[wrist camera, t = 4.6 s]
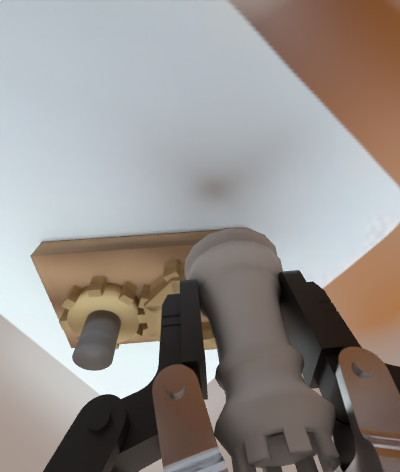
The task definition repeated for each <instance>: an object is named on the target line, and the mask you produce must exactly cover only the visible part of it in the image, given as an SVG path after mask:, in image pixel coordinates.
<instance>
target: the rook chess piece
mask: <svg viewBox="0 0 400 472" xmlns="http://www.w3.org/2000/svg"><path fill="white" fill-rule="evenodd" d="M280 272H283V270H282V265H281V261H280V259H279V257H278V256H277V252H276V248H275V246H274V245H273V244H272V243H271V242H270V240H269V239H268V238H267V237H266V236H265V235H263V234H261V233H258V232H256V231H253V230H251V229H248V228H226V229H223V230H220V231H217V232H214V233H211V234H208V235H207V236H206V237H204V238H203V239H202V240H200V241H199V242H198V243H197V244H195V245H194V246H193V247H192V249H191V251H190V253H189V255H188V256H187V258H186V260H185V274H184V276H185V278H186V280H191V279H197V284H198V293H199V303H200V310H201V312H202V314H203V316H204V317H205V318H207V319H208V320H209V323H210V326H211V329H212V333H213V336H214V339H215V342H216V346H217V350H218V357H219V365H218V367H217V369H216V375H215V379H216V380H217V382H218V384H219V386H220V387H221V388H222V389H223V390H224V391H225V394H226V403H225V406H224V408H223V410H222V412H221V414H220V416H219V419H218V420H217V422H216V426H215V431H214V435H215V437H216V438H217V440H218V441H219V442H220V443H221V445H222V446H223V447H224V448H225V449H226V451H227V452H228V453H229V454H230V456H231V458H232V464H233V472H256V467H257V468H262V469H263V472H282V468H281V466H285V465H289V464H294V463H295V465H296V469H297V472H318V469H317V467H316V464H315V461H314V458H313V456H315V455H318V458H319V461H320V464H321V466H322V469H323V472H334V471H335V470H336V469H337V467H338V466H339V465H340V461H339V459H338V457H339V454H338V452H337V449H336V447H335V445H334V442H333V440H332V434H333V429H334V424H335V418H336V413H335V405H333V404H332V403H330V402H329V401H328V400H326V399H325V398H324V397H322V396H321V395H319V394H318V393H317V392H315V391H314V390H312V389H311V388H310V387H309V386H307V384H306V382H305V380H304V379H303V377H302V374H301V373H302V370H303V367H304V365H305V364H304V359H303V355H302V354H301V353H300V352H299V351H297V350H296V349H295V348H294V347H292V346H291V344H290V341H289V339H288V336H287V334H286V332H285V328H284V324H283V320H282V316H281V312H280V308H279V301H280V297H281V287H280V283H279V273H280Z"/></svg>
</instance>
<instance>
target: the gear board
mask: <svg viewBox="0 0 400 472" xmlns="http://www.w3.org/2000/svg"><path fill="white" fill-rule="evenodd" d="M217 231H220V230H216V231H201V232H186V233H171V234H156V235H141V236H126V237H111V238H96V239H81V240H66V241H51V242H42V243H41V244H40V245H39V246H38V247H37V249H36V250H35V251H34V252H33V254H32V255H31V258H32V261H33V263H34V265H35V267H36V270H37V272H38V274H39V276H40V279H41V281H42V283H43V285H44V287H45V290H46V292H47V294H48V296H49V299H50V301H51V303H52V305H53V308H54V310H55V312H56V314H57V317H58V319H59V323H60V325H61V327H62V329H63V330H64V332H65V334H66V337H67V339H68V341H69V343H70V346H71V348H75V350H74V353H73V356H72V358H73V361H74V363H75V364H76V365H78V366H79V367H81V368H83V369H87V370H102V369H105V368H107V367H109V366H110V365H111V363H112V361H113V356H114V352H115V349H118V347H119V344H128V343H140V342H152V341H160V332H161V313H162V304H163V302H164V300H165V298H166V297H167V295H168V294H179V293H180V280H186V278H185V276H184V274H185V260H186V258H187V256H188V255H189V253H190V251H191V249H192V247H193V246H194V245H195V244H197V243H198V242H199V241H200V240H202V239H203V238H204V237H206V236H207V235H208V234H211V233H214V232H217ZM200 313H201V322H202V332H203V342H204V350H210V349H217V346H216V342H215V339H214V336H213V333H212V329H211V326H210V323H209V320H208V319H207V318H205V317H204V316H203V314H202V312H201V310H200Z"/></svg>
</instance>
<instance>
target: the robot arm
mask: <svg viewBox="0 0 400 472" xmlns="http://www.w3.org/2000/svg"><path fill="white" fill-rule="evenodd" d="M279 283H280V287H281V297H280V301H279V308H280V312H281V316H282V320H283V324H284V328H285V332H286V334H287V336H288V339H289V341H290V344H291V346H292V347H294V348H295V349H296V350H297V351H299V352H300V353H301V354H302V355H303V359H304V364H305V365H304V367H303V370H302V374H303V377H304V379H305V381H306V384H307V386H309V387H310V388H311V389H312V388H319V389H320V392H321V394H322V396H323V397H324V398H325V399H326V400H328V401H329V402H330V403H332V404H333V405H335V413H336V418H335V424H334V429H333V434H332V440H333V442H334V445H335V447H336V449H337V452H338V454H339V457H338V459H339V461H340V465H339V466H338V467H337V469H336V470H335V472H400V367H398V366H393V365H389V364H386V363H384V362H383V361H382V360H381V359H380V358H379V357H378V356H377V355H375V354H374V353H372V352H370V351H368V350H366V349H363V348H362V347H361V346H360V345H359V343H358V342H357V340H356V339H355V337H354V335H353V334H352V332H351V331H350V329H349V328H348V327H347V325H346V323H345V322H344V320H343V319H342V317H341V316H340V314H339V312H337V311H336V308H335V306H334V305H333V303H331V300H330V299H329V297H328V296H327V294H326V293H325V291H324V290H323V289H322V288H321V287H319V286H318V285H317V284H315V283H314V282H306V280H305V279H304V277H303V275H302V274H301V272H300V271H299V270H295V271H284V272H280V273H279ZM205 399H208V395H207V378H206V362H205V352H204V342H203V332H202V322H201V313H200V303H199V293H198V284H197V279H191V280H180V293H179V294H168V295H167V297H166V298H165V300H164V302H163V304H162V313H161V332H160V351H159V366H158V370H157V373H156V375H155V377H154V378H153V380H152V381H151V382H150V383H149V384H148V385H147V386H146V387H145V388H143V389H142V390H140V391H138V392H136V393H133V394H131V395H129V396H127V397H125V398H123V399H120V398H118V397H117V396H115V395H111V394H106V395H101V396H98V397H96V398H94V399H92V400H91V401H89V402H88V403H87V404H86V405H85V406H84V407H83V408H82V410H81V411H80V413H79V414H78V416H77V417H76V419H75V421H74V422H73V424H72V425H71V427H70V429H69V430H68V432H67V433H66V435H65V437H64V439H63V440H62V442H61V443H60V445H59V447H58V448H57V450H56V452H55V453H54V455H53V456H52V458H51V460H50V461H49V463H48V464H47V466H46V468H45V469H44V471H43V472H139V471H140V470H141V469H143V468H145V467H146V466H149V465H150V464H152V463H154V462H156V461H158V460H159V459H161V458H162V464H163V471H164V472H228V469H227V466H226V463H225V461H224V459H223V457H222V455H221V453H220V451H219V448H218V445H217V442H216V438H215V435H214V432H213V428H212V426H211V422H210V418H209V415H208V412H207V408H206V405H205V402H204V400H205Z"/></svg>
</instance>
